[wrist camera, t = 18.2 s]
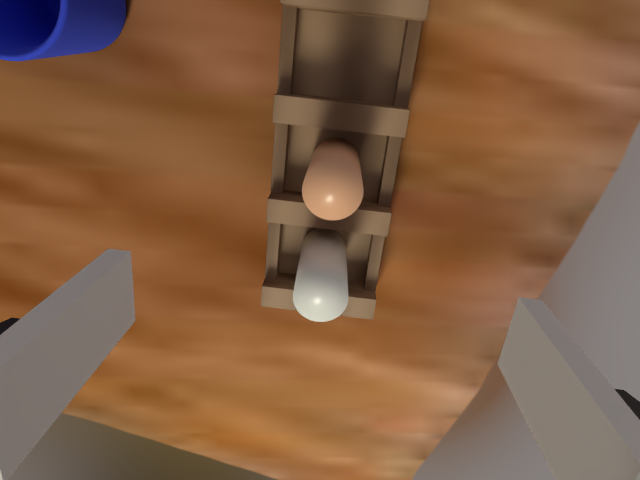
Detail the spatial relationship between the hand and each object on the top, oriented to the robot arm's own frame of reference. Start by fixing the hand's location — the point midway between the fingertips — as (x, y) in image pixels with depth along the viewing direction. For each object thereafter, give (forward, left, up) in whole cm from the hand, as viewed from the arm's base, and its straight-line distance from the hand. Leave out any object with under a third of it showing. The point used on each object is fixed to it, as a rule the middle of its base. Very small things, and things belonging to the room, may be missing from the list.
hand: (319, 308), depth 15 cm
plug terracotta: (0, 0, -24) cm, 24 cm away
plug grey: (0, -8, -24) cm, 25 cm away
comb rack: (0, 0, -25) cm, 25 cm away
